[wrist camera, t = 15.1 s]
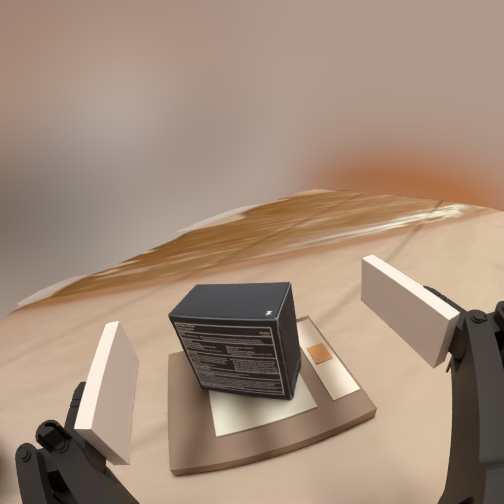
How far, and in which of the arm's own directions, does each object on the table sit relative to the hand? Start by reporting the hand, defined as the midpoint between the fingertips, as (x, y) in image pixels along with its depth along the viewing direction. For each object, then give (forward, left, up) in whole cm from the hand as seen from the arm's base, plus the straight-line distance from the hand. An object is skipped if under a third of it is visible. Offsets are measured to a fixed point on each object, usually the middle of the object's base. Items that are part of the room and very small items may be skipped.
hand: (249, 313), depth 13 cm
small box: (-1, +10, -15) cm, 18 cm away
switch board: (-1, +9, -17) cm, 19 cm away
